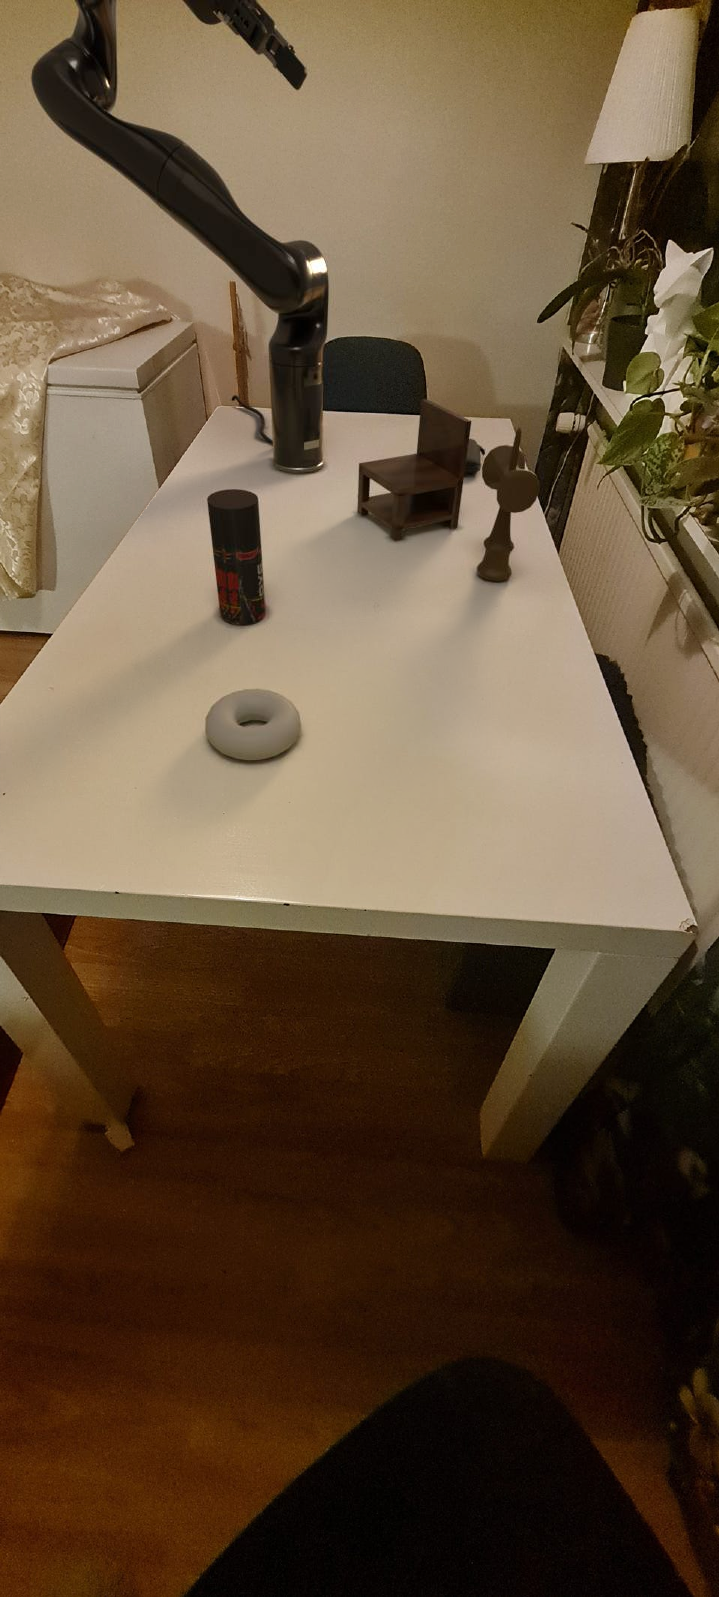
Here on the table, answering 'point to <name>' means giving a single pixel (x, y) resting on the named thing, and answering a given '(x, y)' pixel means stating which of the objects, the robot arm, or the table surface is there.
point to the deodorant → (237, 555)
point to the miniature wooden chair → (420, 475)
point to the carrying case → (473, 458)
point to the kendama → (505, 504)
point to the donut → (252, 739)
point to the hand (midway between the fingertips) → (281, 60)
